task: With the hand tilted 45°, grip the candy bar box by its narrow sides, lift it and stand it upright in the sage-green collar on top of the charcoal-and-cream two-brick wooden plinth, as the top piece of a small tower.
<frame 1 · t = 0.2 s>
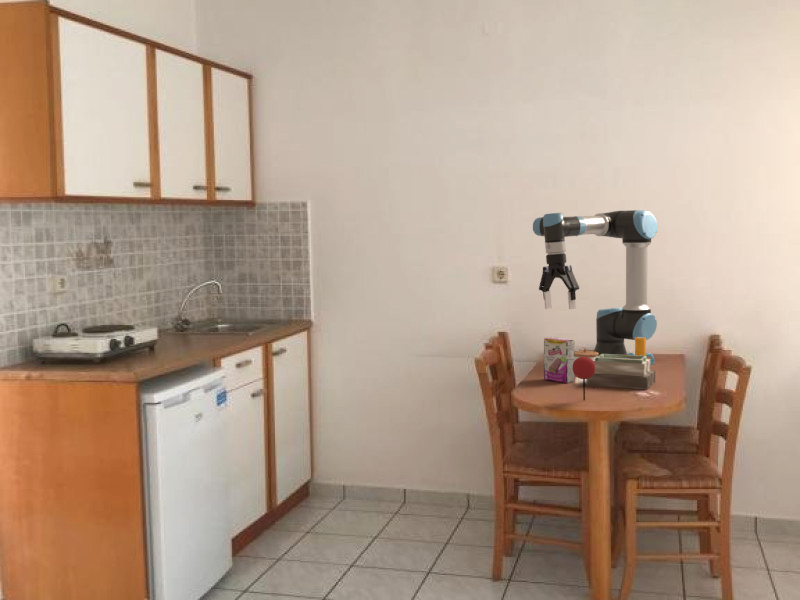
hand: (560, 308, 353), 27 cm above the table, tool pointing down, fingers open, 13 cm apart
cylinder: (640, 376, 361), on the table
lollipop: (583, 400, 314), on the table
candy bar box: (558, 381, 351), on the table
tower base: (621, 383, 343), on the table
lidded jar: (584, 372, 372), on the table
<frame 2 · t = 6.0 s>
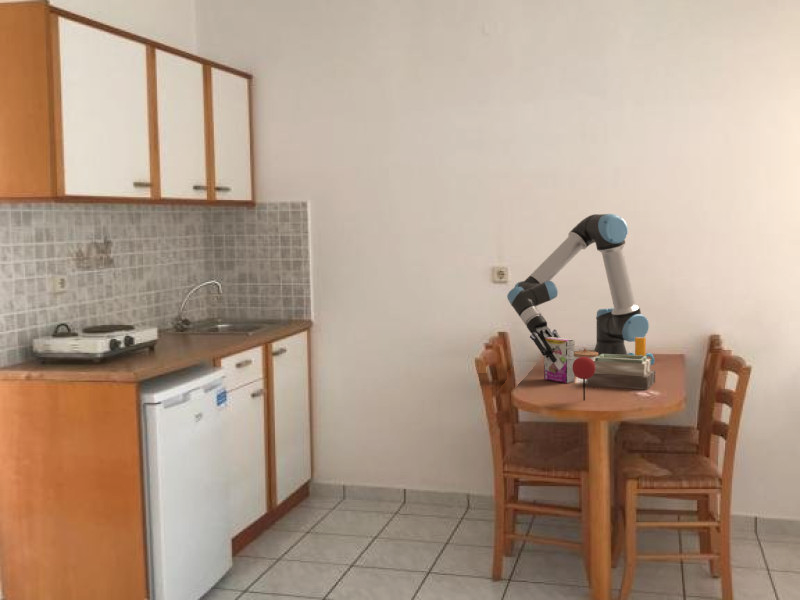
hand: (566, 367, 348), 6 cm above the table, tool tilted 45°, fingers closed on candy bar box, 5 cm apart
candy bar box: (558, 381, 351), on the table, touching gripper
everything else where it was.
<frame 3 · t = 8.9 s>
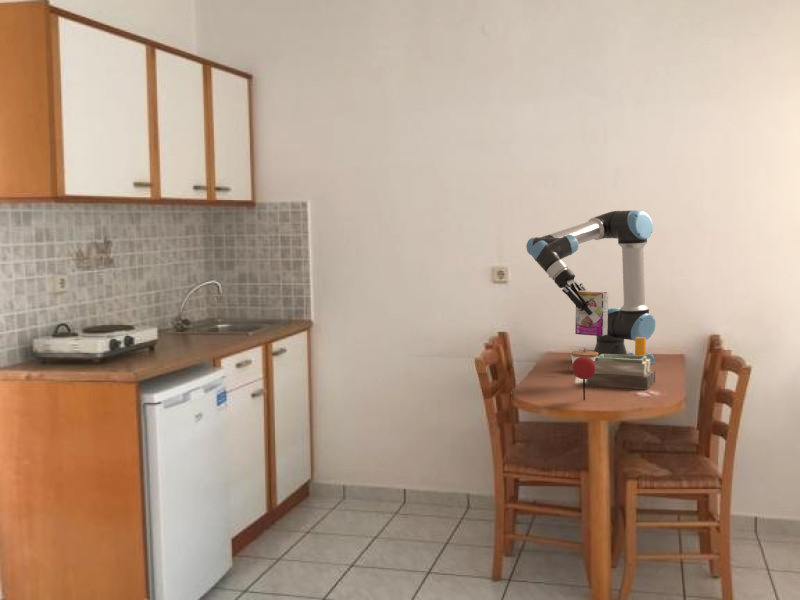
hand: (601, 319, 341), 24 cm above the table, tool tilted 45°, fingers closed on candy bar box, 5 cm apart
candy bar box: (591, 335, 344), point 18 cm above the table, touching gripper
everything else where it was.
when the fingers open (16 cm above the table, at t = 11.7 s): candy bar box drops 1 cm, resting on tower base.
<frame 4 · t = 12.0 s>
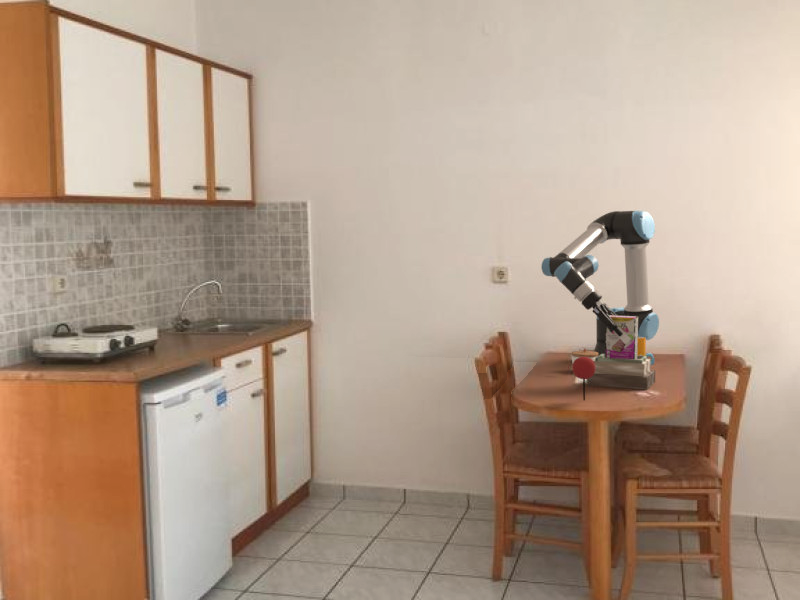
hand: (630, 340, 340), 17 cm above the table, tool tilted 45°, fingers open, 8 cm apart
candy bar box: (621, 360, 342), point 9 cm above the table, touching tower base
everything else where it was.
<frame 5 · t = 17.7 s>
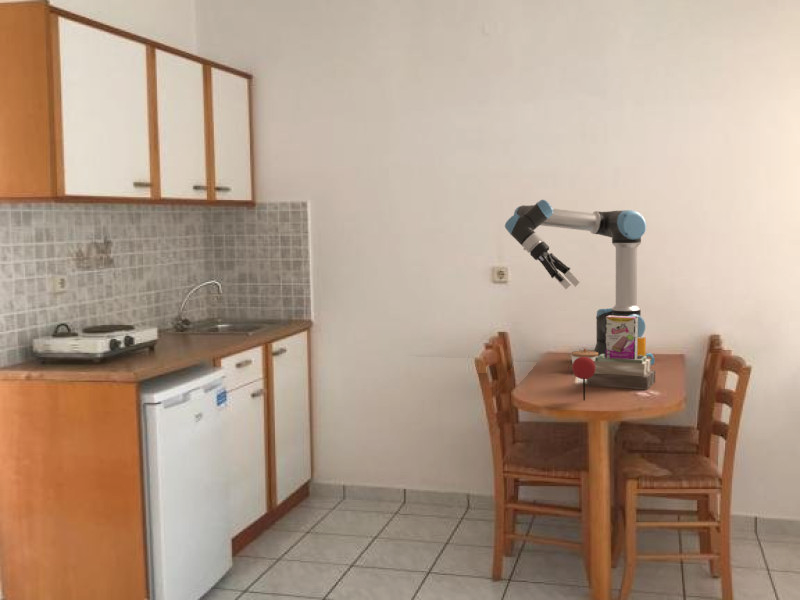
hand: (573, 285, 359), 36 cm above the table, tool tilted 45°, fingers open, 13 cm apart
nothing on the table moved.
at the end: candy bar box 0.1 cm off-centre on the tower base, point 8.8 cm above the tower base's base; candy bar box tilted 0°; the gripper is holding nothing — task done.
